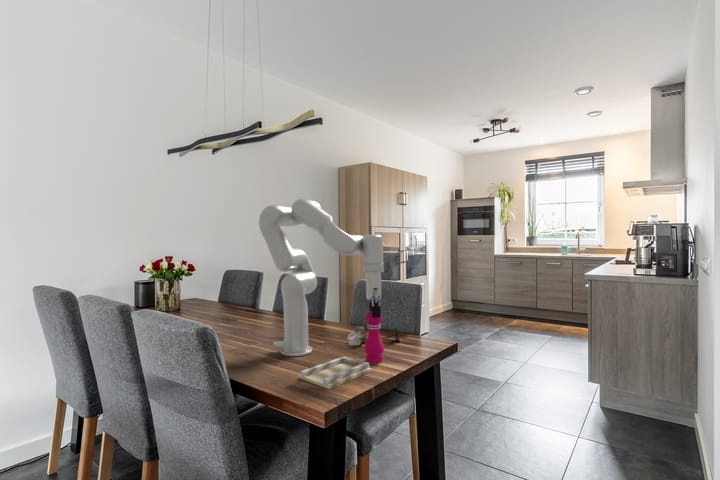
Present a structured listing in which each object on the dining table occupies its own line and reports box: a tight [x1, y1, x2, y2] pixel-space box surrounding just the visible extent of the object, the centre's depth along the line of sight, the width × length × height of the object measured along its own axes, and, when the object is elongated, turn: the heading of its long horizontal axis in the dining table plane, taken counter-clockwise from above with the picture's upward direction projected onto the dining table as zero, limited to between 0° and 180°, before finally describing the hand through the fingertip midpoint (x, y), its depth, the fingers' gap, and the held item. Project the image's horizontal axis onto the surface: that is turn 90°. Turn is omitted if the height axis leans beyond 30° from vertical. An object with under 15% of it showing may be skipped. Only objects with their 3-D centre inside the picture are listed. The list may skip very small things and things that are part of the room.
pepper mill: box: [364, 308, 385, 364], centre depth 141 cm, size 7×7×20 cm
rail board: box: [298, 356, 373, 390], centre depth 127 cm, size 20×14×2 cm
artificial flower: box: [347, 325, 400, 346], centre depth 165 cm, size 9×22×10 cm, turn 93°
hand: (375, 314), depth 140 cm, fingers open, 9 cm apart
